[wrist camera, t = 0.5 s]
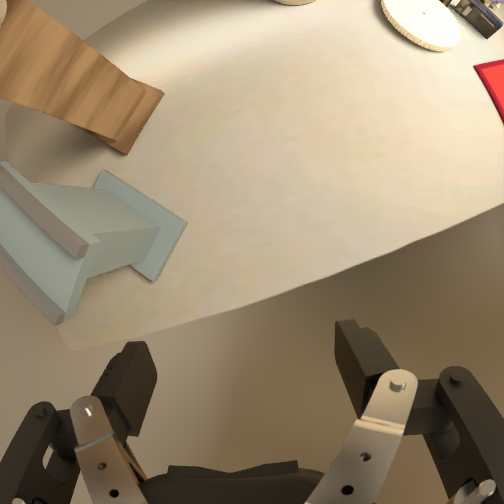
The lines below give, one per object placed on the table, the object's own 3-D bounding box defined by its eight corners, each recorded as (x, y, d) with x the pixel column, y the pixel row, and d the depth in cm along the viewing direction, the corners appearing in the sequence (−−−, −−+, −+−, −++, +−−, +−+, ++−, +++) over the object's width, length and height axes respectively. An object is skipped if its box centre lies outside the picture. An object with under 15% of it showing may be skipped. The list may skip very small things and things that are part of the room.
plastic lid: (398, 50, 31) (403, 42, 29) (367, -11, 30) (370, -20, 27) (466, 58, 29) (473, 52, 27) (434, -2, 28) (439, -9, 25)
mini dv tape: (453, 9, 27) (466, -7, 22) (455, 6, 27) (468, -9, 21) (486, 39, 27) (502, 26, 21) (488, 36, 27) (503, 23, 21)
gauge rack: (82, 224, 39) (-31, 235, 18) (106, 170, 37) (-8, 148, 17) (157, 280, 38) (52, 335, 18) (188, 222, 37) (86, 231, 16)
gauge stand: (71, 122, 37) (-88, 71, 6) (103, 69, 36) (-35, -18, 4) (127, 154, 37) (-79, 94, 6) (164, 93, 35) (5, -40, 4)
